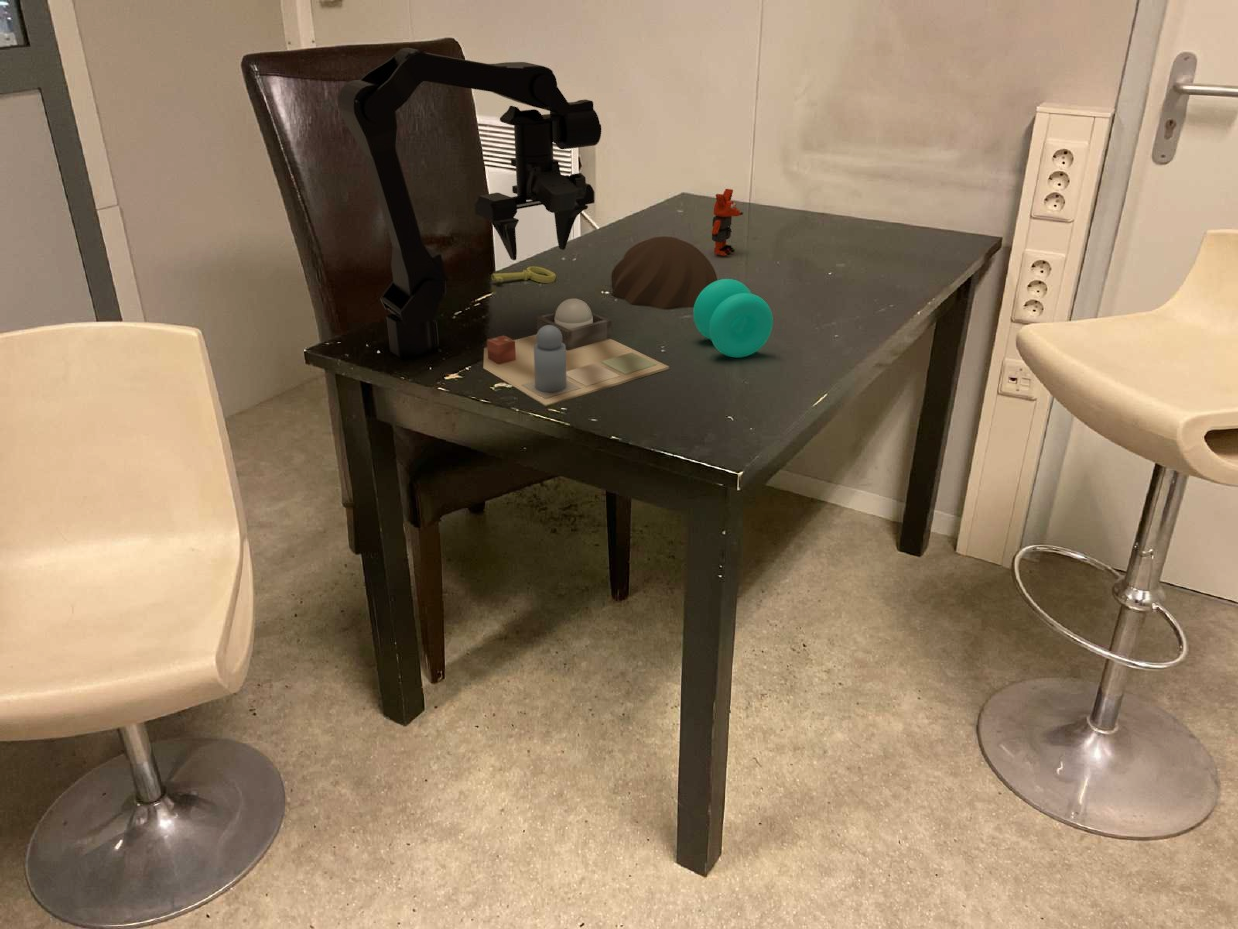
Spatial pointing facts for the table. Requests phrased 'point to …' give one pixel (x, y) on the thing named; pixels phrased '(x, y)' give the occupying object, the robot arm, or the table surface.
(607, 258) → the table surface
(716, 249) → the toy animal
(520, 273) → the key
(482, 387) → the table surface
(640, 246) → the decorative dome
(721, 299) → the teal yo-yo
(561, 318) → the dome button
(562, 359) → the pawn
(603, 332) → the game board
